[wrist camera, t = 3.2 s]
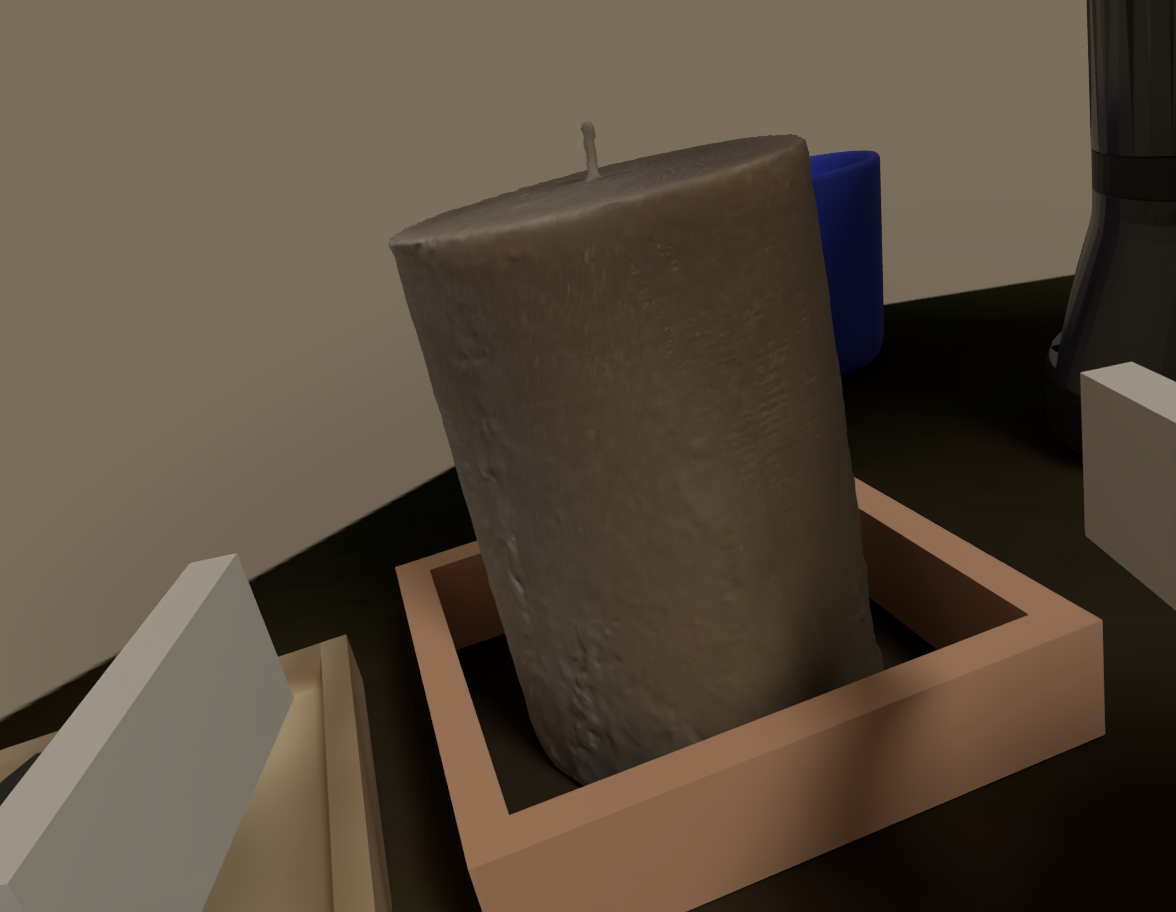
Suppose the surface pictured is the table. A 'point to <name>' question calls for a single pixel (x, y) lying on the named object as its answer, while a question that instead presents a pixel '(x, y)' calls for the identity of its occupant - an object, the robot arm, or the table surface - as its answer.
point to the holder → (774, 735)
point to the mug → (852, 251)
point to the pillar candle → (651, 443)
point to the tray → (303, 801)
